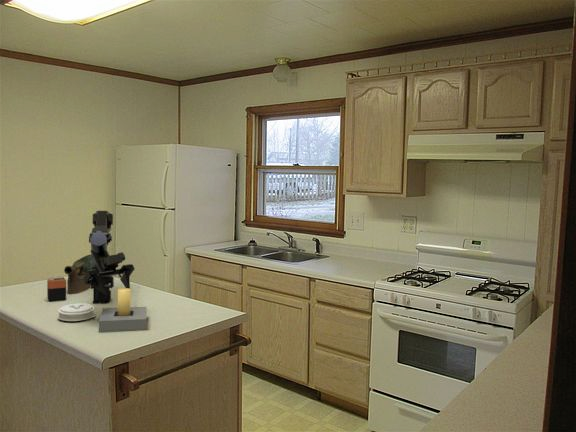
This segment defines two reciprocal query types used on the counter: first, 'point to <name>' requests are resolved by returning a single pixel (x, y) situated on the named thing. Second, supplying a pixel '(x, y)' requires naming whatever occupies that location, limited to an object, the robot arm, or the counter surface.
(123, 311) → the plug
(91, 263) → the squash
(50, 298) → the battery
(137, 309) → the socket block
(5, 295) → the counter surface
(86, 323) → the counter surface
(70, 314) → the lid
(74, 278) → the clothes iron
